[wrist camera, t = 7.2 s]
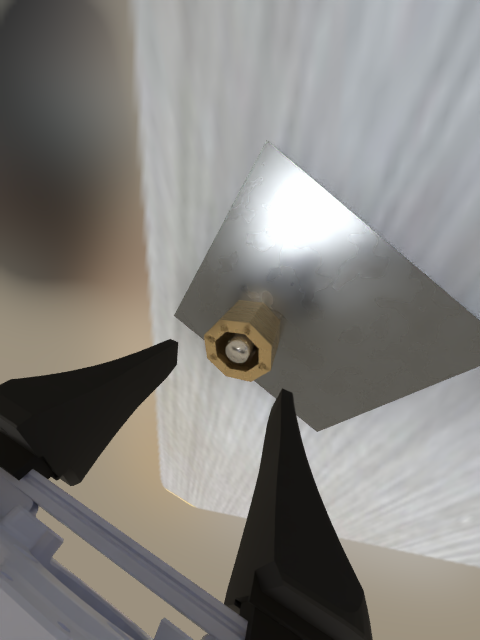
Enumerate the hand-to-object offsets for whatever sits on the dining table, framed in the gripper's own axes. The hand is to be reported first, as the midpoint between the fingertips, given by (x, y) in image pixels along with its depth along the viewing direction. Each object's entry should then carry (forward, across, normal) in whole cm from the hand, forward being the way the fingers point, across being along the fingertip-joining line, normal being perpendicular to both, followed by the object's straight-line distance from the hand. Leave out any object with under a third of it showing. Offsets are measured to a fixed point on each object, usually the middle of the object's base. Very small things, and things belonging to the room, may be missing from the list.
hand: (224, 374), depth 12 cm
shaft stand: (+8, -4, -2) cm, 9 cm away
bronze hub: (+6, 0, 0) cm, 6 cm away
